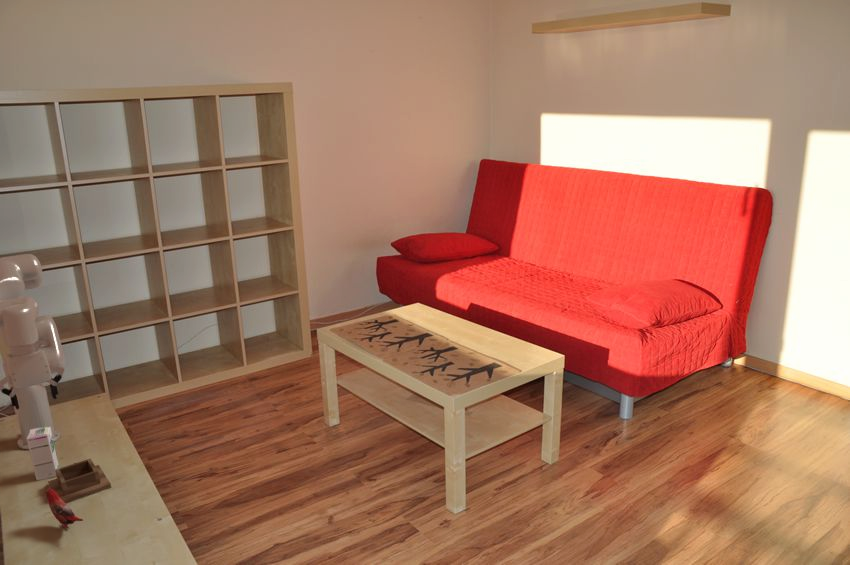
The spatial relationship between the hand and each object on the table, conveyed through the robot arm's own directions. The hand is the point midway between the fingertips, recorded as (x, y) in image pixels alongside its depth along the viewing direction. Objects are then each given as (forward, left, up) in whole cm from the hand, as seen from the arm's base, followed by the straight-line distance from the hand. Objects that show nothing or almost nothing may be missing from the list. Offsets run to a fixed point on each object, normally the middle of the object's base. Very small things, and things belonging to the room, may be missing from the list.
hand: (36, 402), depth 197 cm
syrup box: (-4, 0, -25) cm, 26 cm away
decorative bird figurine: (+31, -2, -25) cm, 40 cm away
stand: (+10, +6, -25) cm, 28 cm away
